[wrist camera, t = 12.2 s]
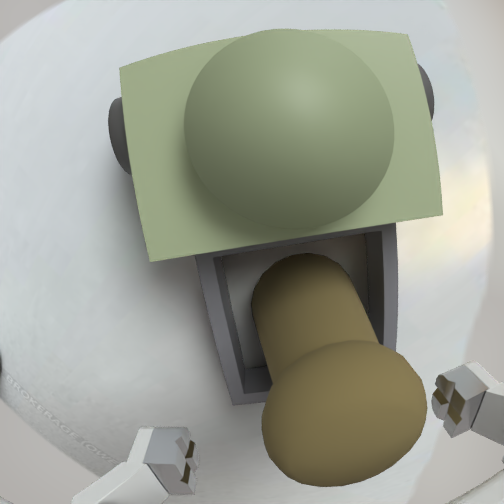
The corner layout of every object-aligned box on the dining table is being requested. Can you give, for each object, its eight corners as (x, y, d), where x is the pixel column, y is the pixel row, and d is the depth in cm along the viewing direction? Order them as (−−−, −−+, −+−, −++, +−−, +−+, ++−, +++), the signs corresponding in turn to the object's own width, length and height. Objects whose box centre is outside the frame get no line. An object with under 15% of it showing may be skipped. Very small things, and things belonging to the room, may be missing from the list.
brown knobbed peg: (267, 359, 18) (276, 519, 7) (237, 270, 16) (210, 417, 6) (361, 332, 17) (441, 468, 7) (343, 239, 16) (467, 336, 5)
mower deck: (199, 383, 18) (181, 452, 12) (136, 102, 14) (79, 69, 8) (411, 345, 18) (455, 399, 12) (387, 68, 14) (442, 28, 8)
